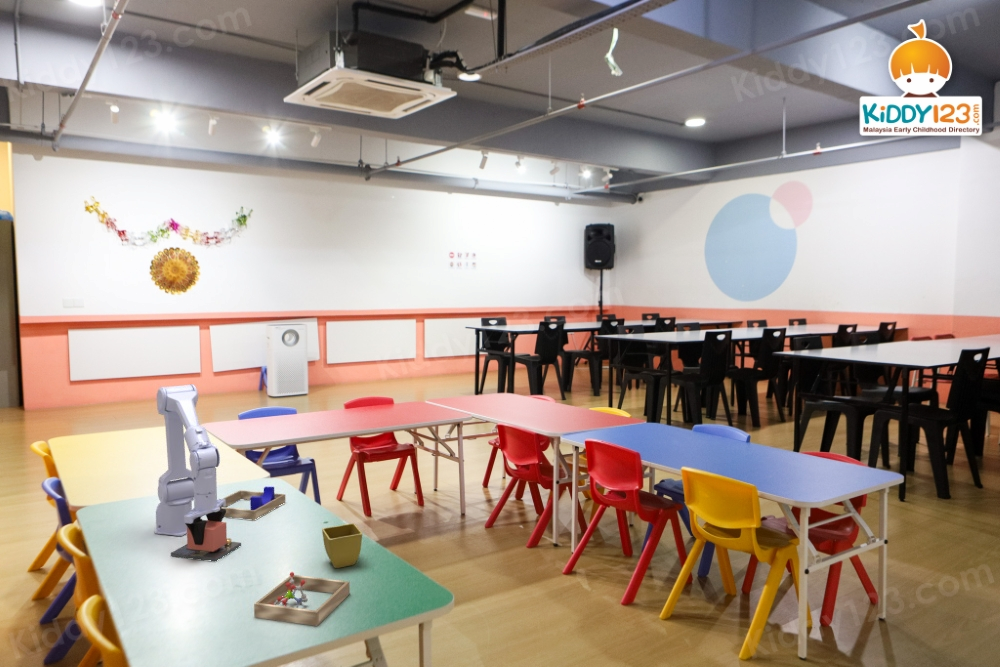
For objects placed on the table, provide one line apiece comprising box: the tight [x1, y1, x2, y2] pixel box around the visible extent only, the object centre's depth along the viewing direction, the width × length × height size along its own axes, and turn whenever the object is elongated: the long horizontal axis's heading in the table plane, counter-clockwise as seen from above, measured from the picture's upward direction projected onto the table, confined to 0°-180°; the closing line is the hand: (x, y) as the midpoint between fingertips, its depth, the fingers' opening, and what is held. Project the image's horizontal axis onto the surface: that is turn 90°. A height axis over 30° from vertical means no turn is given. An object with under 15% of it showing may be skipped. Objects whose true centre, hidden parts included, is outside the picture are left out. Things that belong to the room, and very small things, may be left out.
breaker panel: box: [170, 538, 242, 562], centre depth 182 cm, size 14×11×2 cm
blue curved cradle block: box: [249, 486, 275, 510], centre depth 216 cm, size 12×4×6 cm, turn 177°
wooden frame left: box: [221, 490, 286, 521], centre depth 216 cm, size 17×17×3 cm
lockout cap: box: [186, 519, 228, 552], centre depth 180 cm, size 8×6×6 cm
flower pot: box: [321, 523, 363, 569], centre depth 174 cm, size 9×9×9 cm
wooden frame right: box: [253, 574, 351, 627], centre depth 151 cm, size 15×15×3 cm
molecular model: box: [270, 571, 308, 608], centre depth 150 cm, size 7×8×8 cm
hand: (206, 540), depth 180 cm, fingers closed on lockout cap, 5 cm apart
